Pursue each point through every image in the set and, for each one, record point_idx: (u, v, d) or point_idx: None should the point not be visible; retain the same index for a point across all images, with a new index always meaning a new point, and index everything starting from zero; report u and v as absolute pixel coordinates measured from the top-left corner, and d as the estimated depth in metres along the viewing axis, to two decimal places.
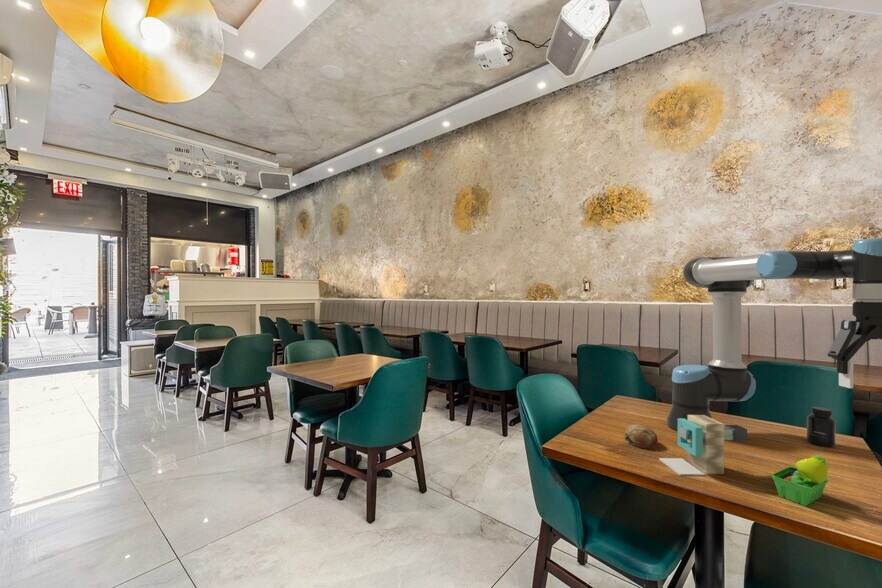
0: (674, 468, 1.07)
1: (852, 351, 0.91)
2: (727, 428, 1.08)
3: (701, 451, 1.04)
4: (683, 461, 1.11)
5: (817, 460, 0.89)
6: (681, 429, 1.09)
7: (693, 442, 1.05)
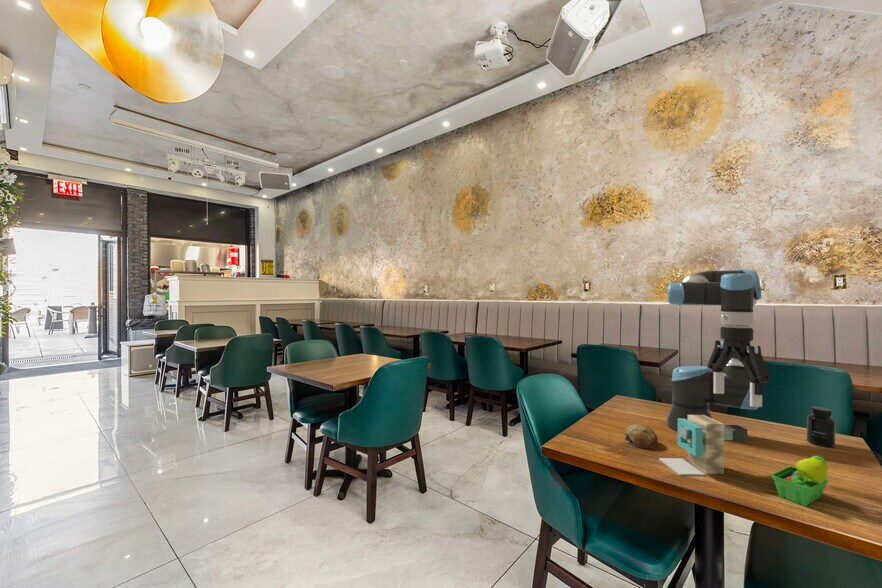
0: (674, 468, 1.07)
1: (715, 364, 1.15)
2: (727, 428, 1.08)
3: (701, 451, 1.04)
4: (683, 461, 1.11)
5: (817, 460, 0.89)
6: (681, 429, 1.09)
7: (693, 442, 1.05)
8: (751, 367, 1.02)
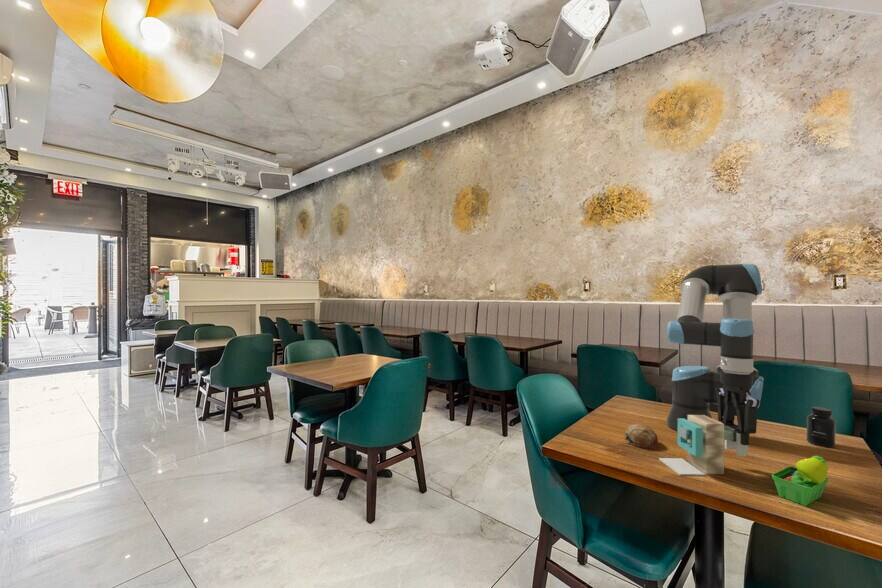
0: (674, 468, 1.07)
1: (724, 416, 1.11)
2: (727, 428, 1.08)
3: (701, 451, 1.04)
4: (683, 461, 1.11)
5: (817, 460, 0.89)
6: (681, 429, 1.09)
7: (693, 442, 1.05)
8: (742, 417, 1.05)
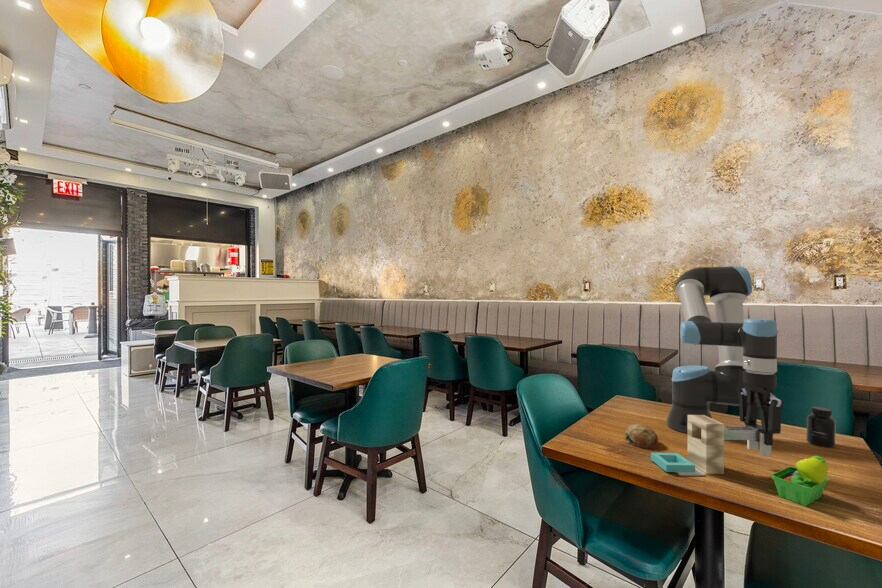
0: None
1: (746, 416, 1.11)
2: (750, 428, 1.08)
3: (690, 466, 1.04)
4: None
5: (817, 460, 0.89)
6: None
7: None
8: (766, 417, 1.05)
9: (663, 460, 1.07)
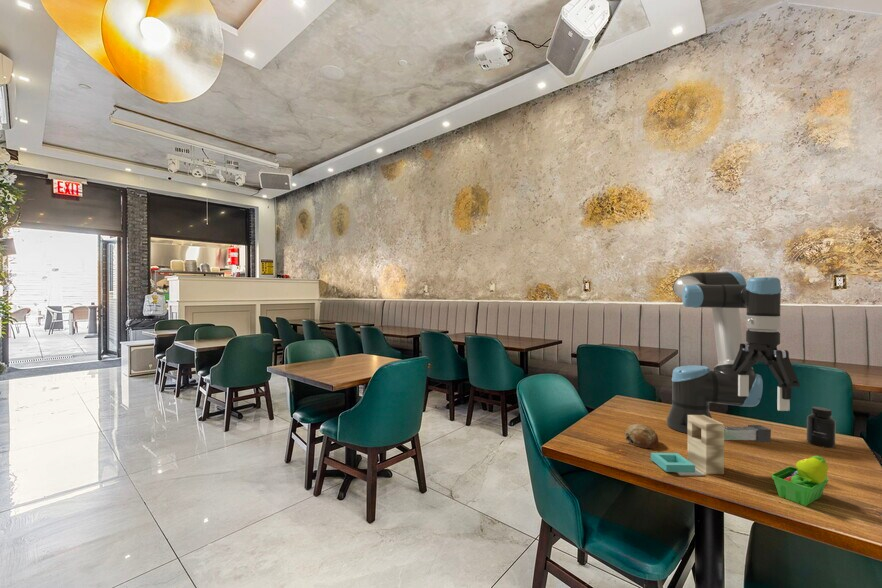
0: None
1: (740, 367, 1.15)
2: (750, 428, 1.08)
3: (690, 466, 1.04)
4: None
5: (817, 460, 0.89)
6: None
7: None
8: (778, 371, 1.03)
9: (663, 460, 1.07)
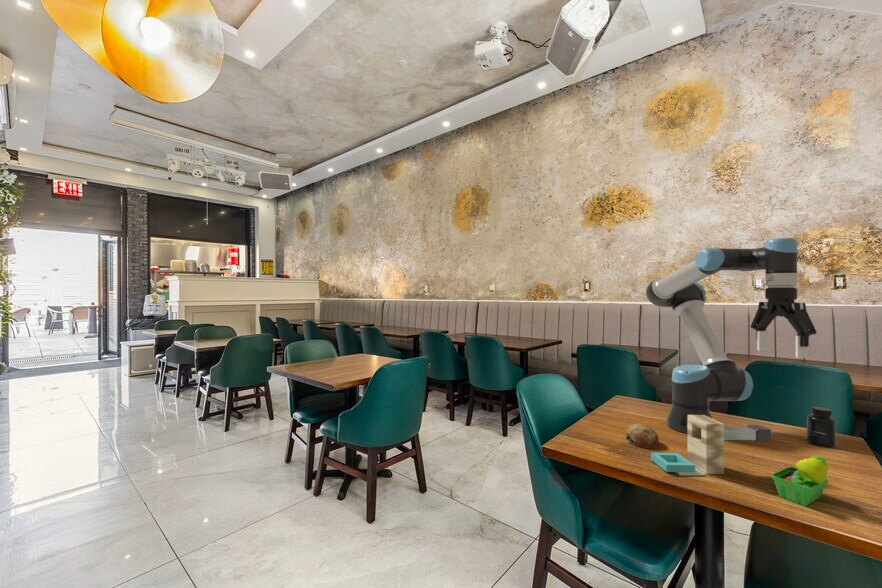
0: None
1: (759, 323, 1.25)
2: (750, 428, 1.08)
3: (690, 466, 1.04)
4: None
5: (817, 460, 0.89)
6: None
7: None
8: (796, 322, 1.12)
9: (663, 460, 1.07)
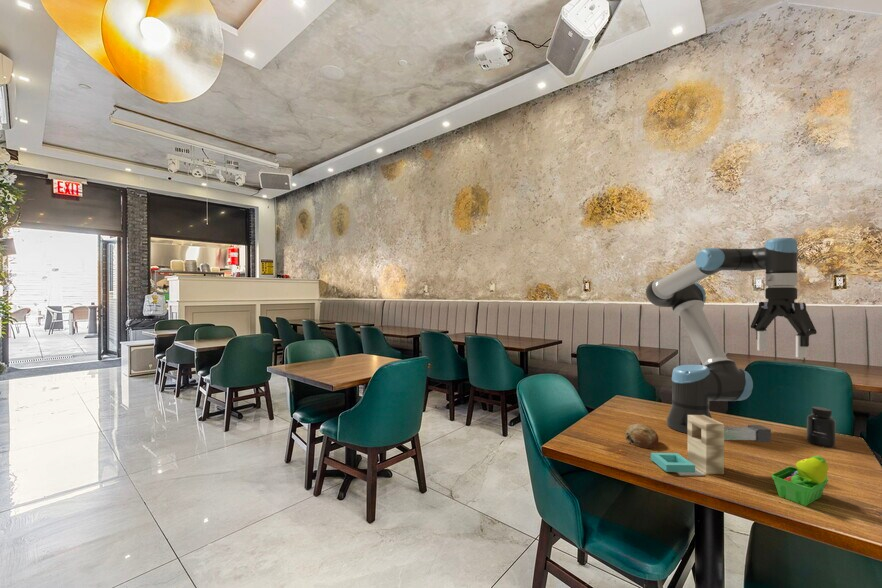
0: None
1: (759, 323, 1.25)
2: (750, 428, 1.08)
3: (690, 466, 1.04)
4: None
5: (817, 460, 0.89)
6: None
7: None
8: (796, 322, 1.12)
9: (663, 460, 1.07)
